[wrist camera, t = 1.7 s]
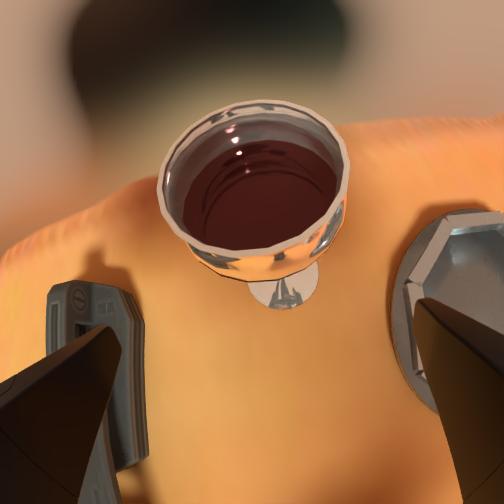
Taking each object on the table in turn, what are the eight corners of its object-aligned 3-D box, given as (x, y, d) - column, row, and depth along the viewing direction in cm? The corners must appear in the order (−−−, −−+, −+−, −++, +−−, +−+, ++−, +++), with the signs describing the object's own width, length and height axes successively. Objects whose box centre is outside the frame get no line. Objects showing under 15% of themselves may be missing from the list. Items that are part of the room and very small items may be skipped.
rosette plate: (567, 287, 15) (579, 280, 13) (491, 456, 12) (505, 461, 11) (448, 179, 21) (456, 165, 19) (342, 340, 18) (345, 337, 17)
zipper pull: (63, 575, 8) (10, 276, 18) (106, 550, 14) (63, 298, 24) (162, 610, 7) (91, 250, 17) (195, 569, 13) (143, 281, 23)
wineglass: (328, 326, 19) (354, 267, 8) (226, 317, 20) (132, 252, 9) (333, 231, 21) (346, 99, 10) (241, 226, 23) (182, 104, 12)
